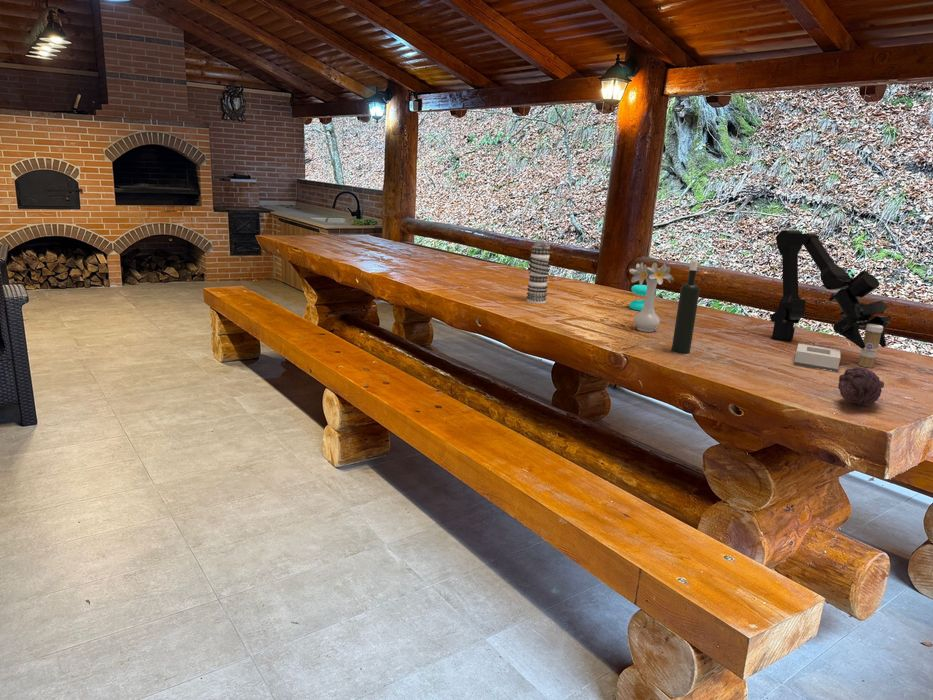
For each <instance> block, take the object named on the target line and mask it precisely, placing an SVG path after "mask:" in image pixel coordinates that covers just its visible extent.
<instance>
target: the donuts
mask: <svg viewBox="0 0 933 700" xmlns="http://www.w3.org/2000/svg"><path fill="white" fill-rule="evenodd" d="M656 291H657V289H655V293H656ZM631 292H632V293H633V294H635V295H637V296H641V297H642V296H645V297H646V292H647V284H642V285H640V284H634V285H632V286H631ZM644 303H645V299H644V300H643V299H634V300H631V302H630V303H629V304H628V305H629V308H630V309H631V310H633V311H638V312H640V311H641V310H642V308H643V306H644Z"/></svg>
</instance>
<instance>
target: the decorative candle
mask: <svg viewBox="0 0 933 700" xmlns="http://www.w3.org/2000/svg"><path fill="white" fill-rule="evenodd" d="M550 250H551V246H550V245H549V244H548V243H546V242H535V243H534V244H533V245H532V246H531V254H530V255H529V256H528V258H529V259H528V262H529V264H528V270H529V272H528V275H529V279H528V284H527V287H528V288H527V293H526V302H527V303H531V304H538V305H539V304H545V303H547V296H548V295H547V292H548V290H547V289H548V287H549V286H548V282H547V281H548V277H549V276H550V273H549V272H550V269H549V268H550V267H551V261H550V260H549V259H550Z"/></svg>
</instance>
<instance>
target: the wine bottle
mask: <svg viewBox="0 0 933 700" xmlns="http://www.w3.org/2000/svg"><path fill="white" fill-rule="evenodd" d="M698 262H699V259H696V258H691V259H690V264H689V273H688V279H687V283H684V284H682V285H681V287H680V289H679V297H678V303H677V311H676V317H675V322H674V323H675V324H674V330H673V337H672V344H671V352H674V353H677V354H683V355H685V354H690V353H691V348H692V347H691V346H692V342H693V336H694V330H695V321H696V316H697V310H698V304H699V296H700V290H701V289H700V287H699V286H698V285H697V284H696V283H695V282H696V274H697V270H698Z"/></svg>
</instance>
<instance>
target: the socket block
mask: <svg viewBox="0 0 933 700" xmlns="http://www.w3.org/2000/svg"><path fill="white" fill-rule="evenodd" d="M793 362H794V363H793V366H797V365H798V367H803V366H804V367H805V368H809V367H811V368H810V369H815V368H819V369H818V370H821V369H826V370H825V371H827V370H832V371H831V372H833V371H837V372H839V371H838V370H839V366H840V362H841V350H840V349H836V348H831V347H829V348H828V347H823V346H819V345H818V346H817V345H811V344H806V343H805V344H804V343H798V344H797V349H796V352H795V357H794V361H793ZM804 367H803V368H804Z"/></svg>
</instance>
